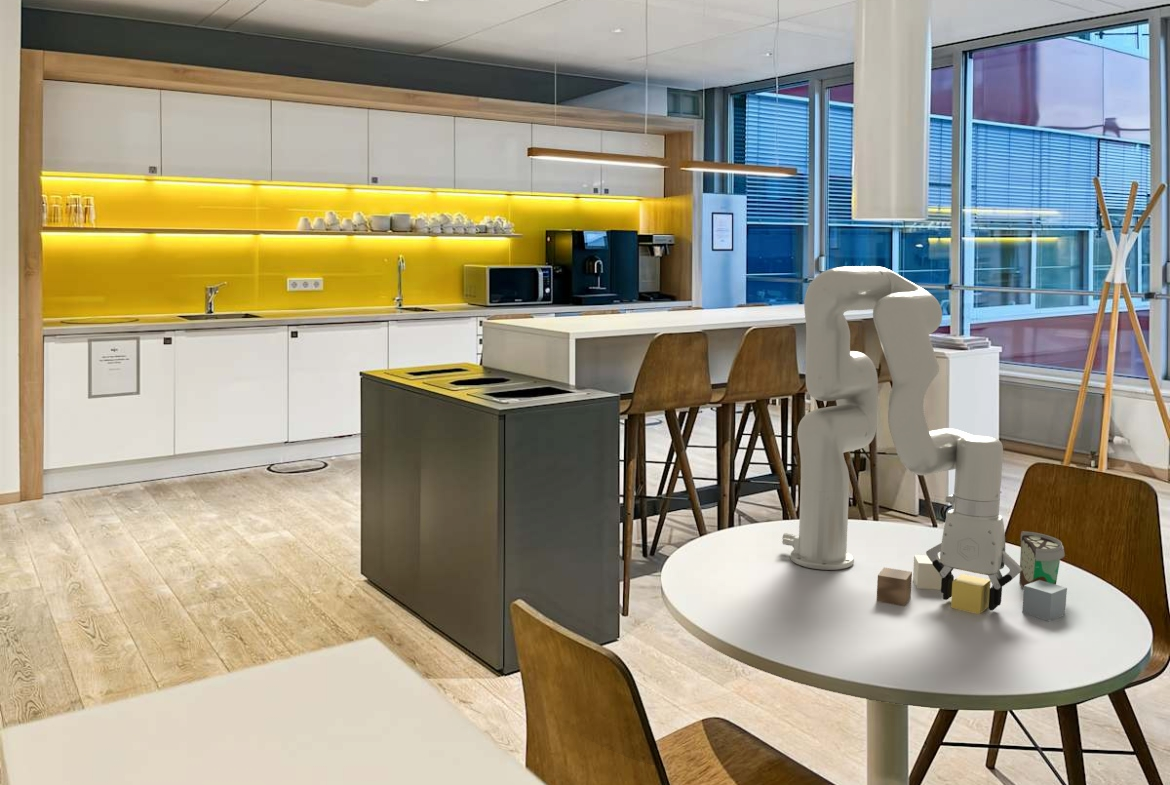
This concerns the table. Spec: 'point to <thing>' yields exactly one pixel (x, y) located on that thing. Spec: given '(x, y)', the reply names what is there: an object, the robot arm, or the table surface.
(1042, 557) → the food container
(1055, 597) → the slate cube
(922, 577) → the cream cube
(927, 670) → the table surface
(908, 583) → the walnut cube
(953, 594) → the mustard cube
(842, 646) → the table surface
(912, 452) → the robot arm
